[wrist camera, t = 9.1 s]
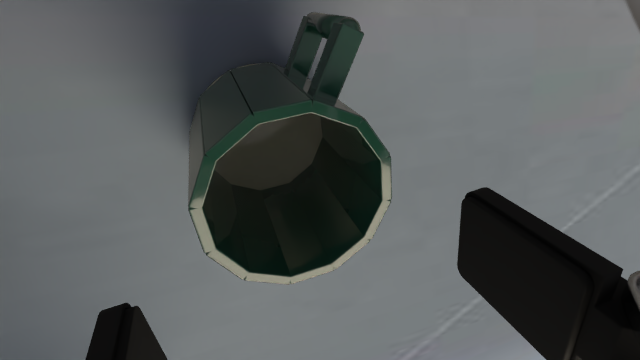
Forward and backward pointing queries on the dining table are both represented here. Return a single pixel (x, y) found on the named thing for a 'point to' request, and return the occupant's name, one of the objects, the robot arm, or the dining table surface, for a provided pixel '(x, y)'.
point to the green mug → (287, 163)
